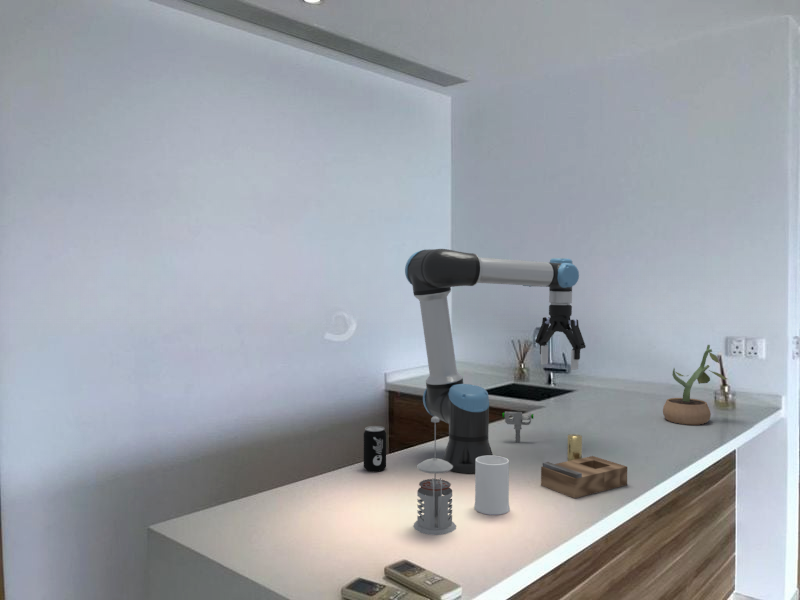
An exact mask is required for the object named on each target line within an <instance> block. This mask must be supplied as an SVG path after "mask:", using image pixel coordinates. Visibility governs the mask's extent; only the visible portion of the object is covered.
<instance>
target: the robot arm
mask: <svg viewBox="0 0 800 600" xmlns="http://www.w3.org/2000/svg"><path fill="white" fill-rule="evenodd" d="M404 274H405V277H406V280H407V281H408V283H409V284H411V286H412V291H413V292H412V293H413V297H415V298H416V299H417V300H418V301H419V307H420V312H421V313H420V314H421V321H422V328H423V335H424V342H425V343H424V344H425V351H426V357H427V364H428V365H427V366H428V371H429V376H428V377H427V379H426V380H425V385H426V388H425V390H424V391H423V395H422V402H423V403H422V404H423V406H424V408H425V410H426V412H427V413H428V414H429V415H430V416H432V417H435V416H436V417H438V418H439V421H442V422H444V423H446V424H448V442H447V445H446V448H445V452H444V455H443V457H442V460H444V461H447V462H449V463H450V464H451V465H452V466H453V468H452V469H451V470H450V471H451V472H453V473H454V472H455V473H459V474H460V473H461V474H475V460H476V458H477V457H480V456H487V455H493V451H492V448H491V445H490V444H491V443H490V441H489V429H490V428H489V427H490V425H489V421H490V420H489V419H490V417H489V416H490V415H489V414H490V413H489V412H490V399H489V398H490V397H489V393H488V391H487V389H486V388H484V387H482V386H479V385H477V384H476V385H475V384H474V385H473V384H470V383H464V379H463V375H462V374H460V373H459V372H458V371H457V362H456V355H455V348H454V340H453V332H452V325H451V318H450V311H449V310H450V309H449V304H448V296H449V295H450V293H451V291H452V288H453V287H474V286H476V285H477V284H490V285H491V284H492V285H494V284H495V285H508V286H509V285H512V286H513V285H514V286H523V287H539V288H540V287H544V288H545V287H546V288H547V287H548V288H549V290H548V291H549V292H548V293H549V294H548V303H549V306H548V315H549V316H550V317H547V316H546V317H542V322H541V326H540V328H539V330H538V333H537V336H536V337H535V341H534V343H535V344H538V345H539V354H540V366H541V365H543V366H544V365H548V364H549V363H548V361H549V345H548V343H549V341H550V340H551V339H552V337H553V335H554V334H555V333H556V332H559V333H563V335H565V337H566V338H567V341H568V342H569V343H570V345H571V347H572V349H570V351H571V352H570V355H571V357H570V370H571V371H572V370H579V360H580V359H581V350H582V349H586V346H587V345H586V343H585V341H584V338H583V335H582V332H581V329H580V326H579V320H578V319H571V316H572V313H573V310H572V309H573V306H572V305H571V304H572V303H573V287H574V286H575V285H577V284H578V282H579V278H580V271H579V269H578V267H577V266H576V265H575V264H573V260H572V259H571V258H567V257H566V258H563V257H562V258H554V257H553V258H550V261H549V262H547V261H534V260H523V259H508V258H507V259H505V258H492V257H479V256H478V254H477V253H470V252H464V251H457V250H453V249H447V248H436V249H433V248H431V249H430V248H429V249H422V250H418V251H416V252H414V253H412V254H411V255H410V256H409V258H408V260H407V261H406V264H405V268H404ZM493 456H494V455H493Z"/></svg>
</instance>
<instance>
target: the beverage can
mask: <svg viewBox="0 0 800 600" xmlns="http://www.w3.org/2000/svg"><path fill="white" fill-rule="evenodd" d="M385 429H386V428H385V427H384V426H381V425H372V426H371V425H370V426H367V427H365V428H364V430H365V431H364V432H363V468H364V470H365V471H367V472H371V473H377V472H382V471H384V470H385V469H386V468H387V432H386V431H385Z"/></svg>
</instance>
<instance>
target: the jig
mask: <svg viewBox="0 0 800 600" xmlns="http://www.w3.org/2000/svg"><path fill="white" fill-rule="evenodd" d="M540 486H543V487H544V488H547V489H550V490H553V491H555V492H558V493H560V494H563V495H565V496H568V497H570V498H573V499H577V498H581V497H585V496H589V495H594V494H597V493H601V492H604V491H608V490H613V489H616V488H620V487H621V488H622V487H624V486H628V466H627V465H624V464H621V463H617V462H614V461H610V460H607V459H605V458H600V457H598V456H593V455H590V456H586V457H582V458H581V459H576V460H571V461H567V460H566V461H562V462H557V463H553V462H550V461H545V462H542V466H541V468H540Z"/></svg>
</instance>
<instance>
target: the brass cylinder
mask: <svg viewBox="0 0 800 600" xmlns="http://www.w3.org/2000/svg"><path fill="white" fill-rule="evenodd" d="M582 450H583V436H582V435H581V434H576V433H570V434H568V435H567V453H566V454H567V459H566V462H567V461H571V460H576V459H581V458H583V457H582V456H583V455H582V454H583V453H582V452H583V451H582Z"/></svg>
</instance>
